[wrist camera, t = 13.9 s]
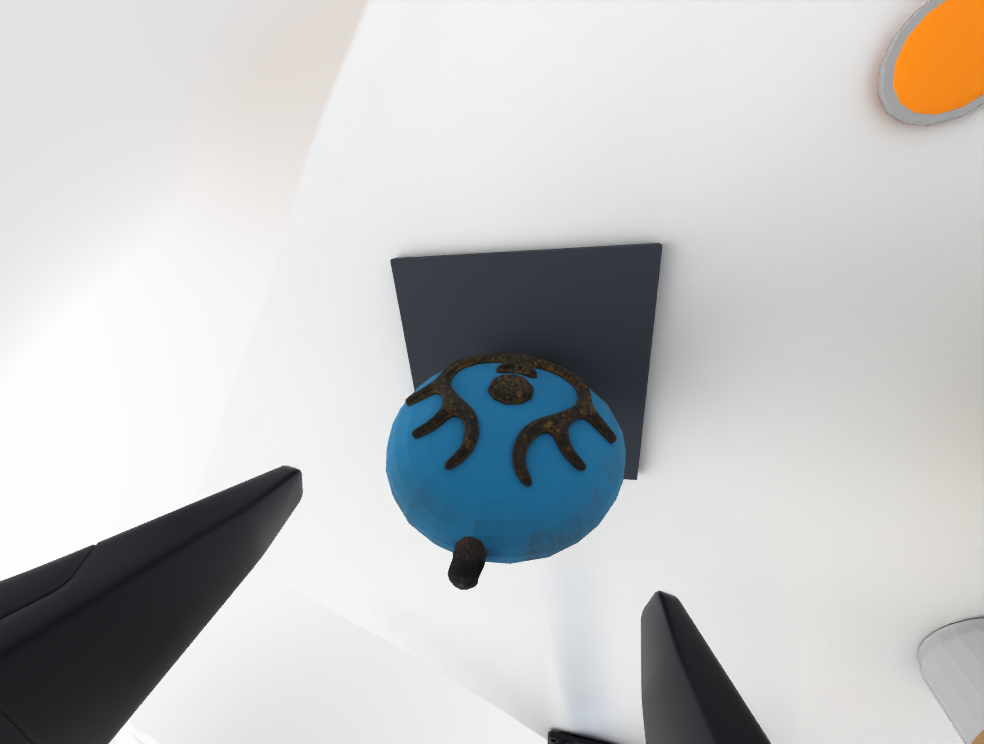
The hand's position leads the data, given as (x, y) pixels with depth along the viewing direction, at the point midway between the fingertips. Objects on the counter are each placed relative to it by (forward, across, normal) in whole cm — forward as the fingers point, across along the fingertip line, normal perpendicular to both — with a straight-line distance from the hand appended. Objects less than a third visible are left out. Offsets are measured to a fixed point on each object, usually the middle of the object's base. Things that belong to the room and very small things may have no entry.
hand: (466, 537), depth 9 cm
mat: (+10, 0, 0) cm, 10 cm away
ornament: (+9, 0, 0) cm, 9 cm away
